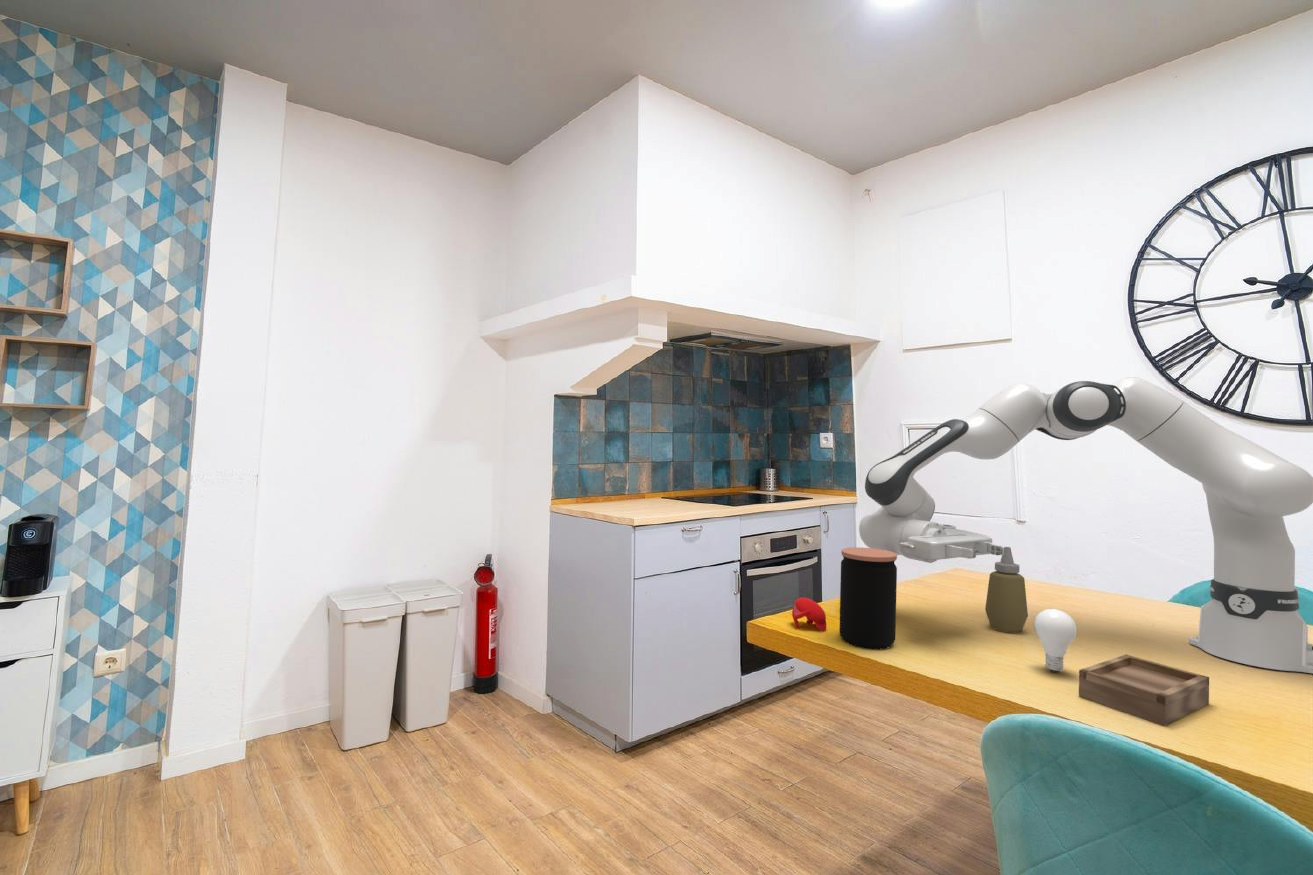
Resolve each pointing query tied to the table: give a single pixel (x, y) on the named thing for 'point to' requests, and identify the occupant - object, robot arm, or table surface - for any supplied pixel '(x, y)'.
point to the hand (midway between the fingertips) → (988, 552)
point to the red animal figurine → (809, 613)
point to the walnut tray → (1144, 688)
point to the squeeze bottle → (1006, 596)
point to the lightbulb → (1055, 636)
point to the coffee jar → (868, 597)
